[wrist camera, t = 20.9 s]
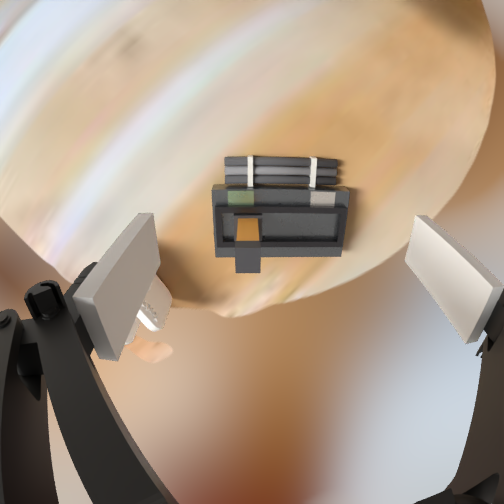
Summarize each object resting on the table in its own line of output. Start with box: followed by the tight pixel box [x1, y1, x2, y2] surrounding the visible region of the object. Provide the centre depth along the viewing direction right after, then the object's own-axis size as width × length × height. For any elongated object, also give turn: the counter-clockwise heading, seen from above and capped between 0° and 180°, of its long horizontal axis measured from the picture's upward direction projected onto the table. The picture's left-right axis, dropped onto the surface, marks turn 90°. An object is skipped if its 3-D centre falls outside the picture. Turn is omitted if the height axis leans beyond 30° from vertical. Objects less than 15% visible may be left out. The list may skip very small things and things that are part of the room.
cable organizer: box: [125, 274, 172, 345], centre depth 51 cm, size 15×11×12 cm
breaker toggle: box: [234, 213, 262, 273], centre depth 43 cm, size 4×4×11 cm
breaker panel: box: [212, 184, 350, 257], centre depth 49 cm, size 22×12×4 cm, turn 90°
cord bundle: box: [225, 155, 338, 187], centre depth 46 cm, size 18×5×2 cm, turn 90°
